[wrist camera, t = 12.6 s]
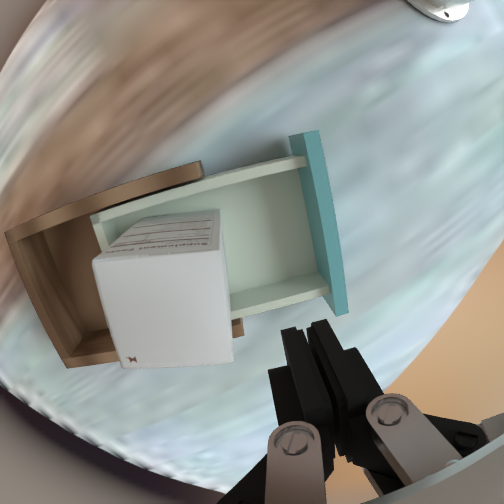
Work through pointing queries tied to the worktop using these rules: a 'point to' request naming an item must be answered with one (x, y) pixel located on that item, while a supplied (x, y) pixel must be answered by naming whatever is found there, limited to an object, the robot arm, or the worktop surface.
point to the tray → (259, 227)
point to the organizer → (79, 268)
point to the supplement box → (168, 292)
